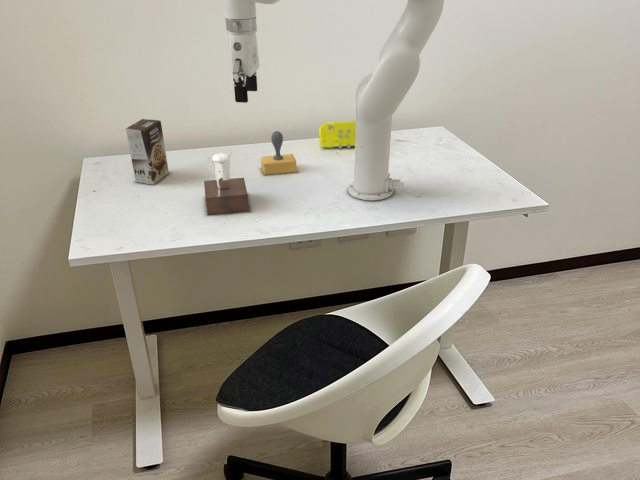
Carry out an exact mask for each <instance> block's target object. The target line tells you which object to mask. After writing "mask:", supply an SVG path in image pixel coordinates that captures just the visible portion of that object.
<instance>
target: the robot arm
mask: <svg viewBox="0 0 640 480" xmlns="http://www.w3.org/2000/svg"><path fill="white" fill-rule="evenodd" d="M280 1H281V0H223V9H224V18H225V19H224V20H225V32H226V33H227V34H229V52H230V53H229V54H230V55H229V56H230V67H231V73H232V74H231V75H232V77H233V78H232V81H233V90H234V91H233V92H234V101H235V102H236V103H243V104H247V103H248V102H249V95H248V92H258V78H257V71H258V70H259V69H260V59H259V50H258V49H259V48H258V39H257V32H258V25H257V9H256V3H258V4H264V5H274V4H277V3H279V2H280ZM444 5H445V0H407V3H406V6H405V8H404V10H403V12H402V13H401V15H400V18H399V20H398V22H396V25H395V26H394V28H393V30H392V31H391V33H390V35H389V36H388V37H387V39H386V41H385V42H384V44H383V45H382V47H381V49H380V52H379V56H378V57H379V58H378V61H379V62H378V64H377V66H376V68H375V69H374V71H373V72H372V73H370V74H368V75H366V76H364V77H362V79H361V80H360V81H359V82H358V85H357V87H356V91H355V122H356V129H355V146H354V166H353V167H354V169H353V170H354V171H353V181H352V182H351V183H350V184H349V185H348V187H347V188H348V189H347V190H348V194H349V195H351V196H352V197H354V198H356V199H358V200H363V201H380V200H384V199H388V198H389V197H390V196H392V194H393V193H394V189H397V190H404V187H405V181H401V179H400V178H399V179H398V178H393V177H391V173H390V172H389V171H390V153H391V139H392V121H393V115H394V114H395V113H396V111H397V110H398V109H399V106H400V105H401V104H402V102H403V100H404V99H405V97H406V96H407V94H408V92H409V91H410V89H411V88H412V86H413V84H414V82H415V81H416V79H417V77H418V75H419V71H420V67H421V59H420V55H421V53H422V51H423V49H425V46H426V44H427V43H428V41H429V39H430V38H431V36H432V34H433V32H434V30H435V29H436V27H437V25H438V23H439V21H440V18H441V16H442V14H443V10H444Z"/></svg>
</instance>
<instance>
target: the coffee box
mask: <svg viewBox="0 0 640 480" xmlns="http://www.w3.org/2000/svg"><path fill="white" fill-rule="evenodd" d="M125 133H126V137H127V142H128V148H129V153H130V159H131V164H132V169H133V176H134V181H135V183H139V184H147V185H155V184H156V183H158V182H159V181H160V180H162V179H164V177H166V176H167V175H169V174H170V171H169V165H168V158H167V152H166V146H165V138H164V134H163V133H164V132H163V125H162V121H161V120H159V119H147V118H142V119H139V120H138V121H136V122H135V123H133V124H131V125H129V126H128V127H125Z"/></svg>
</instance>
